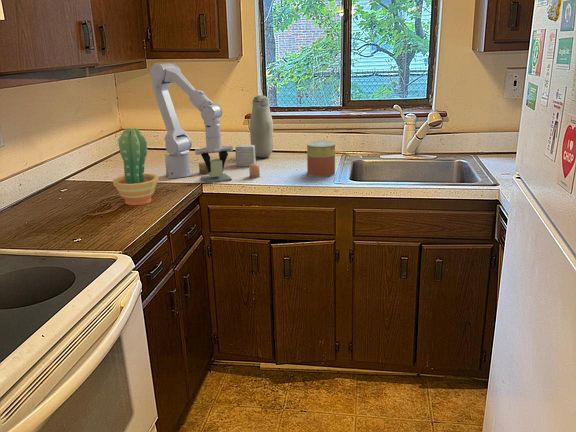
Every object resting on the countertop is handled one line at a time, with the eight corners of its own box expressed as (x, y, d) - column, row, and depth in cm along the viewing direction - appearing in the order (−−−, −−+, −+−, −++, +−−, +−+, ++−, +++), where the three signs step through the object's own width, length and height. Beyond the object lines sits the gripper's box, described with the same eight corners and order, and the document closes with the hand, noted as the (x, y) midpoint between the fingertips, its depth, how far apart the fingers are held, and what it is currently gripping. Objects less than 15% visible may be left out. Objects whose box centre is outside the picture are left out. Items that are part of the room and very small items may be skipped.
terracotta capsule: (251, 178, 209) (251, 166, 207) (248, 176, 212) (247, 164, 211) (261, 177, 210) (260, 165, 209) (257, 175, 214) (257, 163, 212)
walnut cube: (204, 175, 216) (203, 165, 215) (199, 173, 219) (198, 163, 218) (212, 173, 218) (212, 163, 217) (208, 171, 222) (207, 162, 220)
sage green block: (211, 177, 205) (210, 161, 203) (208, 174, 209) (207, 159, 207) (223, 175, 207) (222, 160, 205) (219, 173, 211) (218, 158, 209)
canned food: (339, 175, 211) (339, 145, 207) (312, 177, 208) (312, 147, 204) (329, 168, 221) (329, 140, 217) (303, 171, 218) (303, 142, 214)
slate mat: (206, 183, 203) (206, 181, 203) (200, 178, 211) (200, 176, 211) (231, 180, 207) (231, 178, 206) (225, 175, 214) (225, 173, 214)
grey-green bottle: (247, 158, 244) (244, 96, 235) (261, 154, 251) (259, 93, 242) (263, 160, 238) (261, 97, 229) (277, 156, 246) (276, 94, 237)
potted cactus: (165, 194, 191) (158, 124, 182) (155, 207, 176) (147, 132, 168) (122, 195, 191) (113, 125, 183) (109, 208, 176) (98, 133, 168)
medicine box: (255, 164, 232) (255, 144, 229) (254, 166, 228) (253, 146, 225) (238, 164, 233) (237, 144, 230) (236, 166, 228) (235, 146, 226)
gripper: (197, 139, 197) (199, 175, 201) (234, 136, 202) (236, 171, 207) (192, 136, 203) (195, 171, 208) (229, 133, 208) (231, 167, 213)
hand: (215, 171), depth 208 cm, fingers closed on sage green block, 4 cm apart
